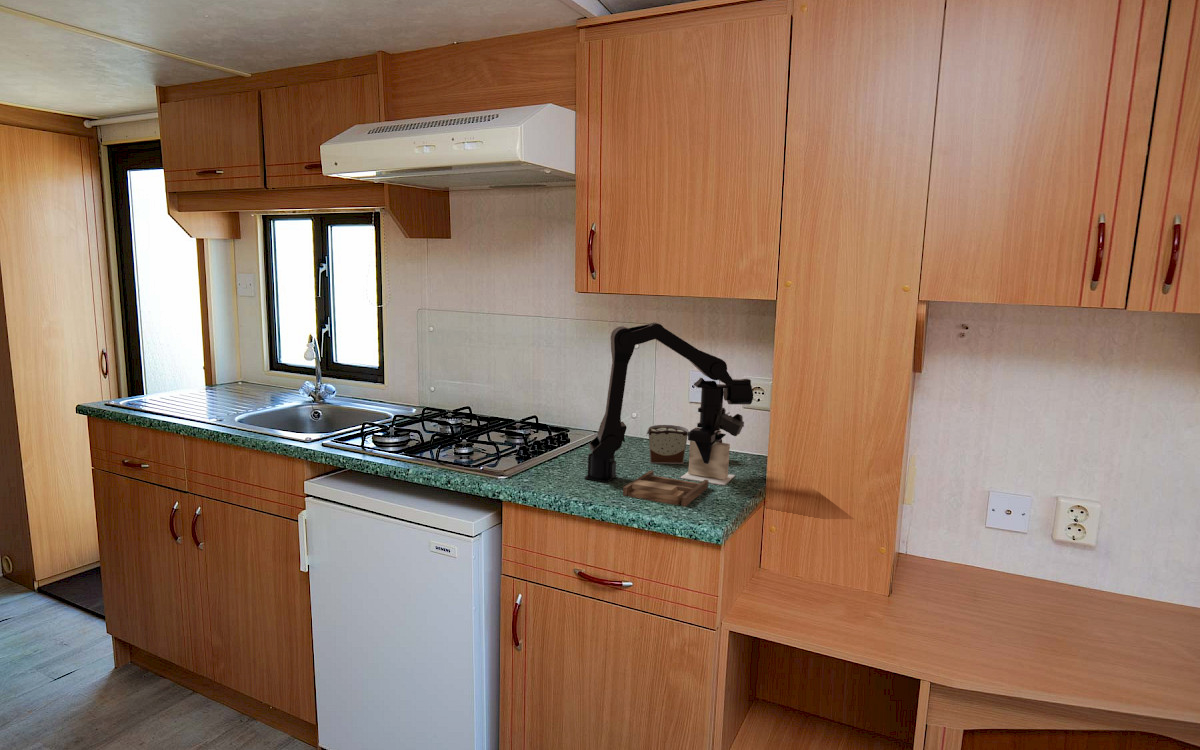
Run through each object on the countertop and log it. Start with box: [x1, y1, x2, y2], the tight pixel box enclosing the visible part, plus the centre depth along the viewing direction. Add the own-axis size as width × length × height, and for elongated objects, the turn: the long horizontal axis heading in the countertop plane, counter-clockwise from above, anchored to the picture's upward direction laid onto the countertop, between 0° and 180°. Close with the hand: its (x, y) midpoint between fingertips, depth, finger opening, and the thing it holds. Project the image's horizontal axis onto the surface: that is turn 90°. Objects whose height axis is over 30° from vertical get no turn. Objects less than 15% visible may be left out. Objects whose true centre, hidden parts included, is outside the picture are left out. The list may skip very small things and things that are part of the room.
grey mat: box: [679, 471, 736, 487], centre depth 190 cm, size 12×10×1 cm
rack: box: [622, 470, 709, 507], centre depth 176 cm, size 16×17×2 cm
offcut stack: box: [627, 480, 685, 506], centre depth 171 cm, size 13×5×4 cm, turn 64°
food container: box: [646, 424, 690, 465], centre depth 205 cm, size 12×6×10 cm, turn 92°
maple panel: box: [687, 441, 731, 480], centre depth 189 cm, size 10×3×9 cm, turn 63°
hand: (708, 461), depth 189 cm, fingers open, 3 cm apart
